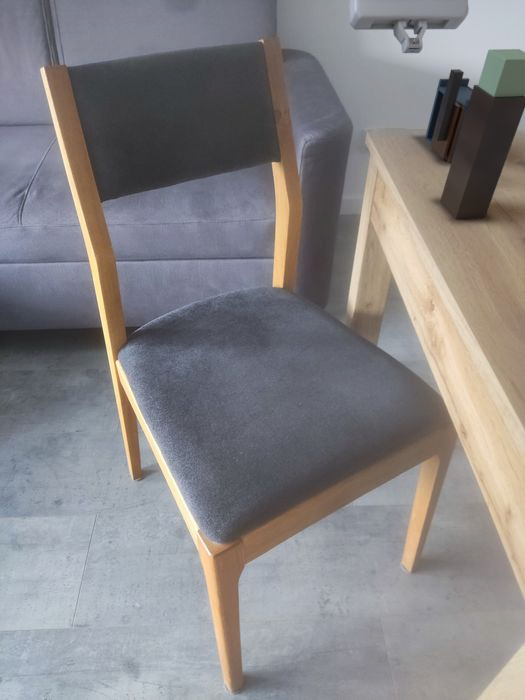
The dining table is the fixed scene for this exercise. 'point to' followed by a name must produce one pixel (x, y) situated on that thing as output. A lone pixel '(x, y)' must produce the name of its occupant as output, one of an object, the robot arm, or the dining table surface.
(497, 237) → the dining table surface
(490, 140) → the plinth
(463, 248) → the dining table surface
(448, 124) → the door
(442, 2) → the robot arm
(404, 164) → the dining table surface
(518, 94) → the block
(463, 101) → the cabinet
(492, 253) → the dining table surface
